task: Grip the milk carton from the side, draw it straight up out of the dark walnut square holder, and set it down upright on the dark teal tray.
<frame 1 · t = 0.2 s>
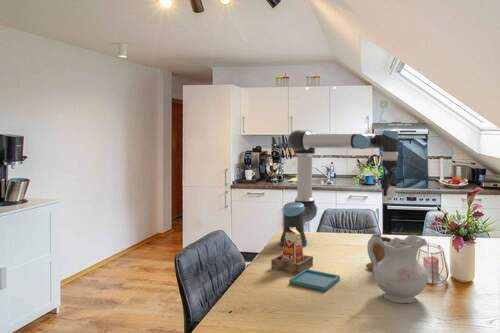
hand: (388, 200, 214), 28 cm above the table, tool pointing down, fingers open, 13 cm apart
milk carton: (292, 267, 192), resting in holder
holder: (292, 267, 192), on the table
tray: (314, 282, 173), on the table
ceramic pitcher: (396, 297, 156), on the table
stone cup: (383, 270, 188), on the table
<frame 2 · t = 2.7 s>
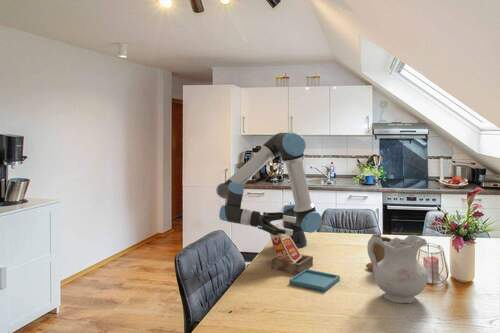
hand: (294, 226, 195), 19 cm above the table, tool horizontal, fingers open, 13 cm apart
milk carton: (291, 262, 192), point 2 cm above the table, touching gripper
everything else where it was.
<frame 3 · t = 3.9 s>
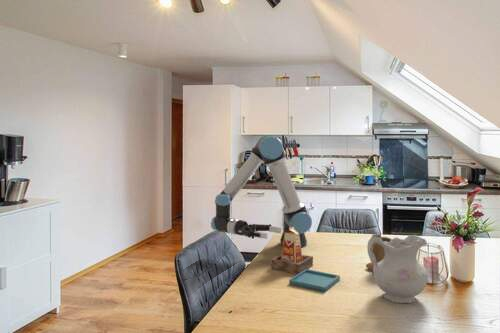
hand: (274, 233, 196), 15 cm above the table, tool horizontal, fingers open, 13 cm apart
milk carton: (291, 268, 192), resting in holder
everything else where it was.
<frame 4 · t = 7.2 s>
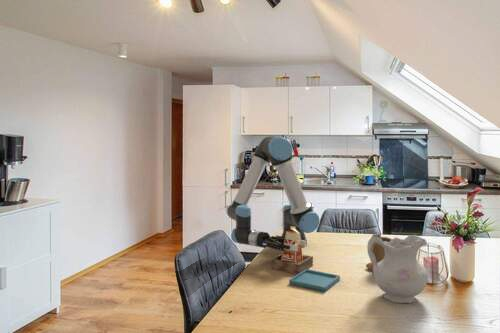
hand: (301, 245, 189), 11 cm above the table, tool horizontal, fingers closed on milk carton, 8 cm apart
milk carton: (291, 267, 192), resting in holder, touching gripper
everything else where it was.
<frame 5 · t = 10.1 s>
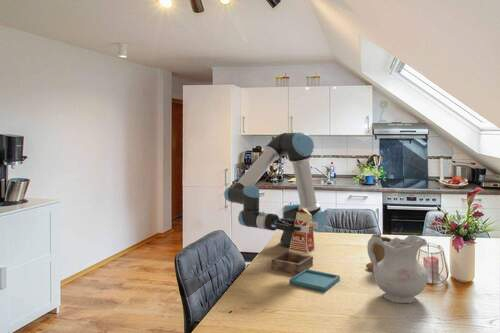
hand: (312, 227, 176), 22 cm above the table, tool horizontal, fingers closed on milk carton, 8 cm apart
milk carton: (301, 251, 179), point 11 cm above the table, touching gripper
everything else where it was.
when the fingers open (13 cm above the table, at t = 12.7 s): milk carton drops 2 cm, resting on tray.
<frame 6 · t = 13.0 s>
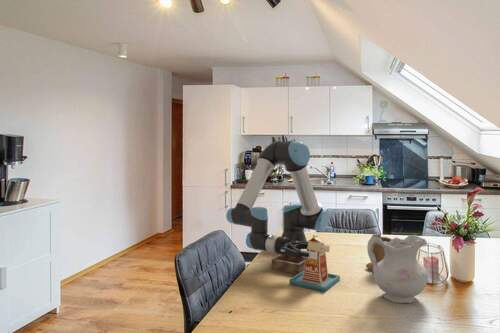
hand: (323, 252, 170), 14 cm above the table, tool horizontal, fingers open, 12 cm apart
milk carton: (315, 280, 172), point 1 cm above the table, touching tray
everything else where it was.
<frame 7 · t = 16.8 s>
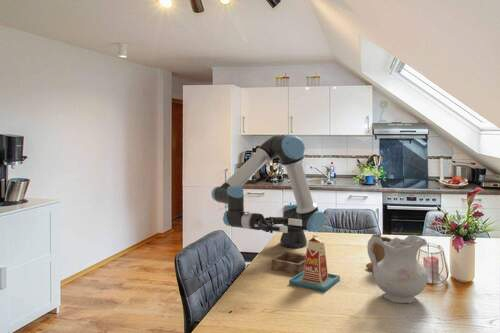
hand: (294, 226, 176), 23 cm above the table, tool horizontal, fingers open, 13 cm apart
nothing on the table moved.
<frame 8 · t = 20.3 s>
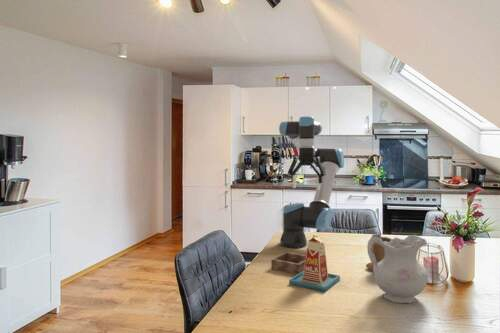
hand: (306, 188, 209), 35 cm above the table, tool pointing down, fingers open, 13 cm apart
nothing on the table moved.
at the end: milk carton inside the target area on the tray (0.3 cm from its centre), point 0.8 cm above the tray's base; milk carton tilted 0°; the gripper is holding nothing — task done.
